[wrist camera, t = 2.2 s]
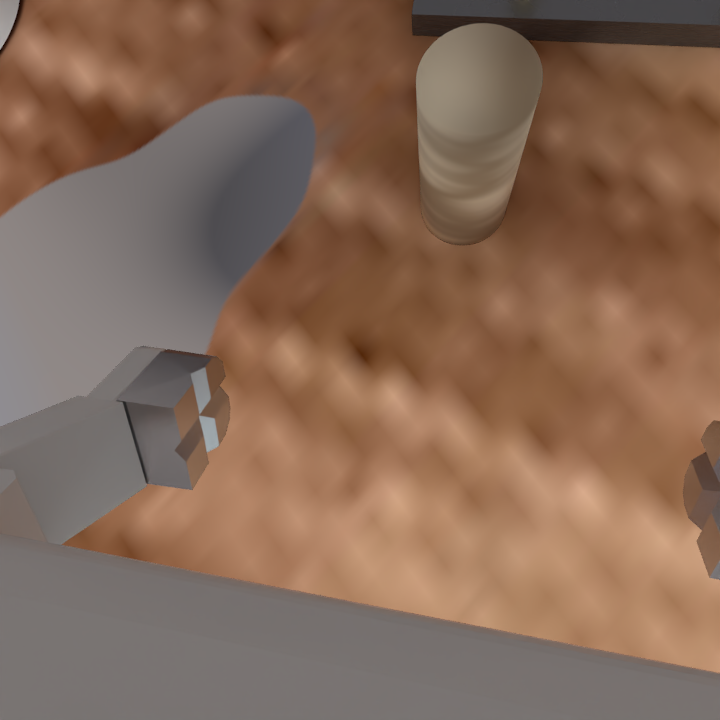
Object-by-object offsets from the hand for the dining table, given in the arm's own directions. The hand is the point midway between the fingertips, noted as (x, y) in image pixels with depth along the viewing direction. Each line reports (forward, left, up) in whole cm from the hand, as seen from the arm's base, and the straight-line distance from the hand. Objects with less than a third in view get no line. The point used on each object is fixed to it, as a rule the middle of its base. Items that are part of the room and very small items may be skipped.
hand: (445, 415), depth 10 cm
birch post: (0, +13, -18) cm, 22 cm away
